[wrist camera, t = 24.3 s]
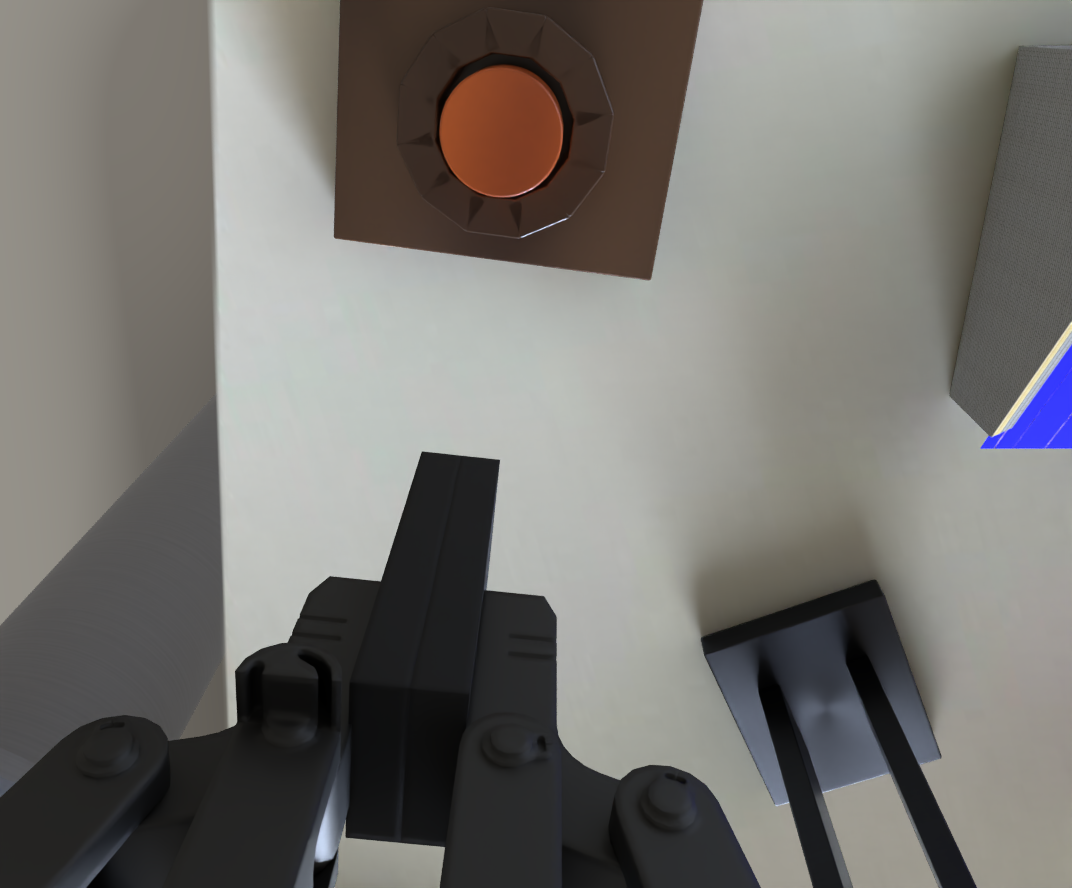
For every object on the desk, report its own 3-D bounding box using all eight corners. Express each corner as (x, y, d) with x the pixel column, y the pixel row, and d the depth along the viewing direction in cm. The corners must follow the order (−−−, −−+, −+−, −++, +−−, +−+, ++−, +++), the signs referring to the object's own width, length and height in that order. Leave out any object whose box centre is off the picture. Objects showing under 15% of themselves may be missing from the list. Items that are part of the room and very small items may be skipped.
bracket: (932, 739, 42) (1102, 1075, 29) (770, 787, 44) (859, 1125, 30) (875, 578, 38) (1040, 879, 25) (700, 637, 40) (766, 949, 27)
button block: (347, 225, 32) (320, 251, 29) (357, -56, 28) (326, -66, 25) (645, 265, 33) (655, 296, 29) (695, -8, 29) (714, -11, 25)
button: (442, 179, 28) (434, 189, 26) (451, 55, 26) (444, 58, 25) (554, 195, 28) (554, 205, 27) (571, 73, 27) (571, 76, 25)
